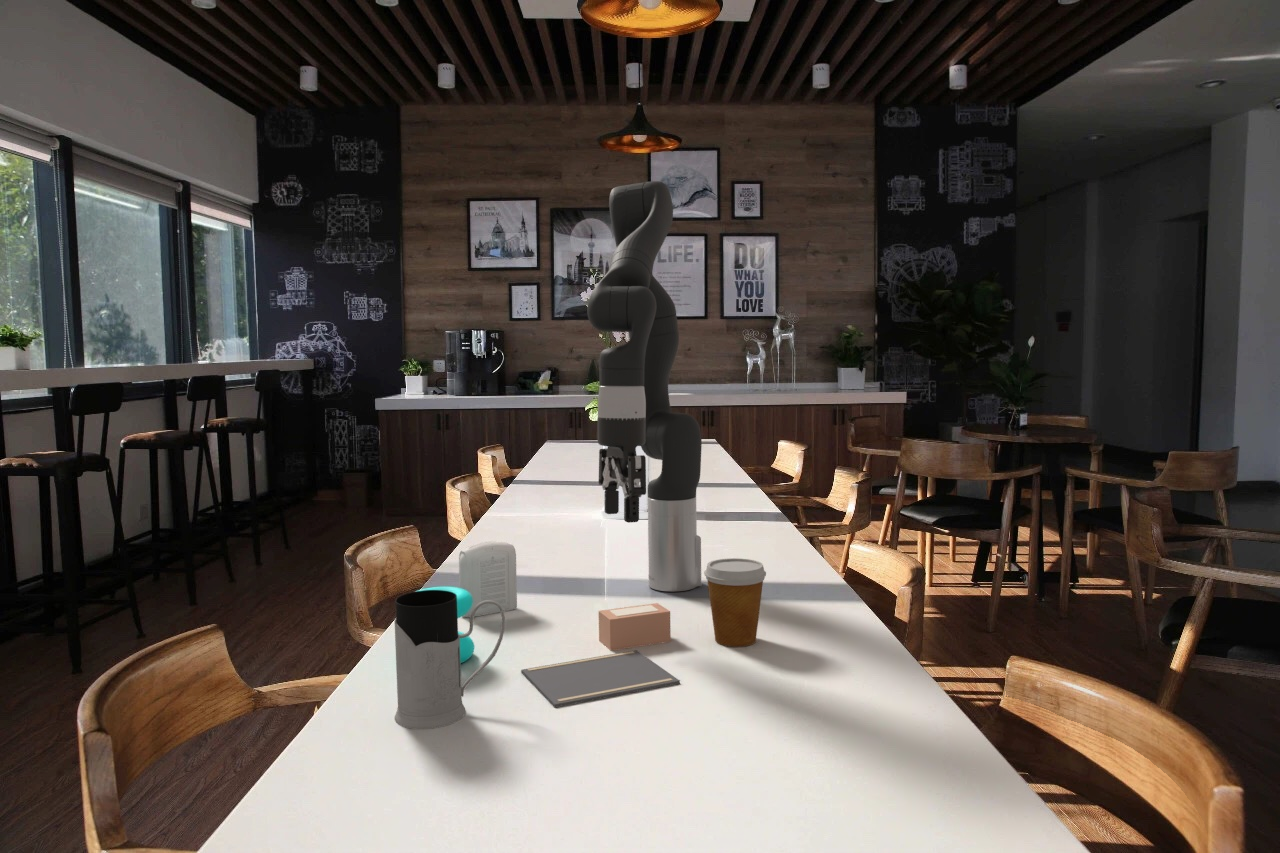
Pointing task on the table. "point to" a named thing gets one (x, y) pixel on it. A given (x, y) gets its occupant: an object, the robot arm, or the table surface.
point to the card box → (634, 626)
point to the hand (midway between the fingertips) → (621, 517)
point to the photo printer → (489, 576)
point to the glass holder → (431, 658)
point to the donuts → (462, 608)
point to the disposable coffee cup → (735, 599)
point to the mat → (597, 678)
